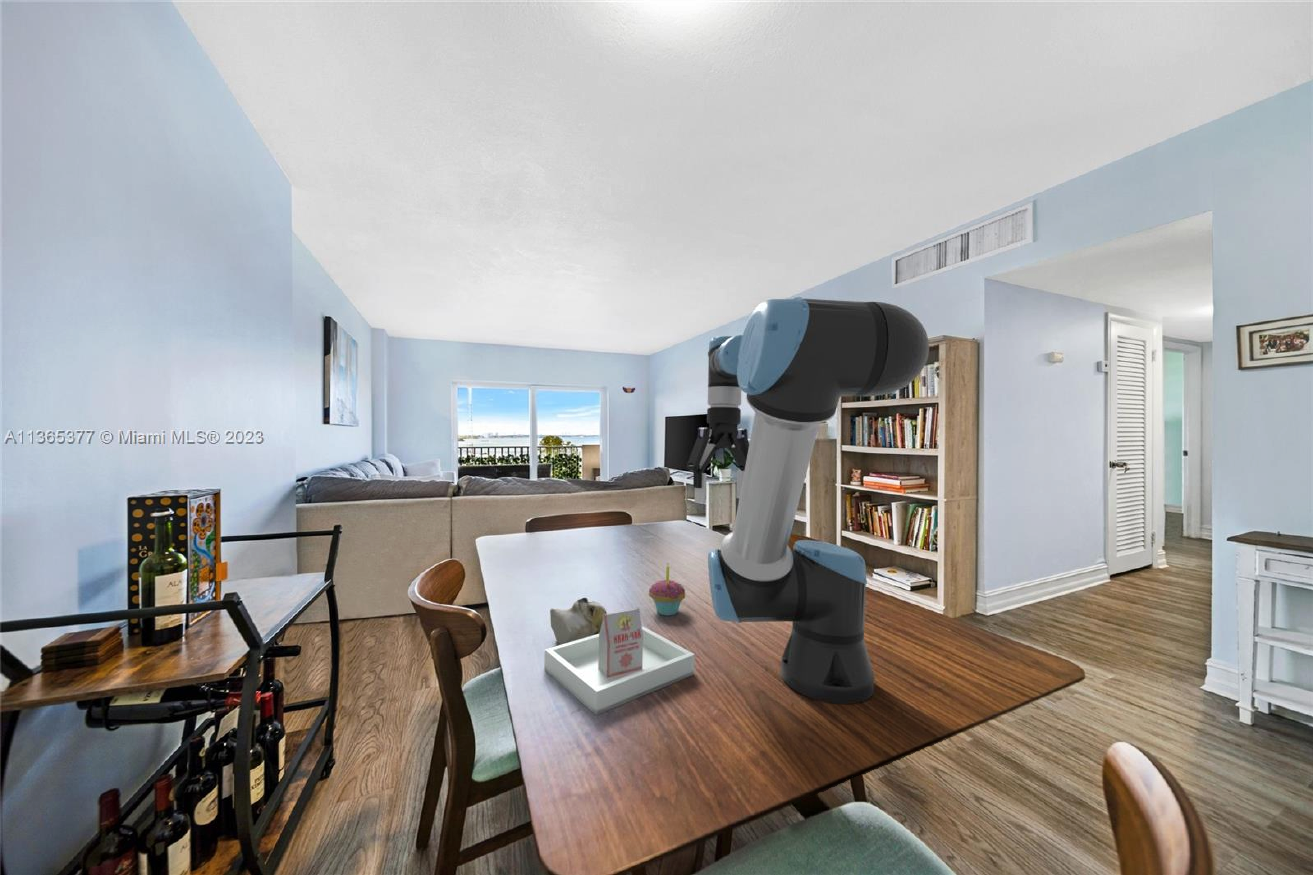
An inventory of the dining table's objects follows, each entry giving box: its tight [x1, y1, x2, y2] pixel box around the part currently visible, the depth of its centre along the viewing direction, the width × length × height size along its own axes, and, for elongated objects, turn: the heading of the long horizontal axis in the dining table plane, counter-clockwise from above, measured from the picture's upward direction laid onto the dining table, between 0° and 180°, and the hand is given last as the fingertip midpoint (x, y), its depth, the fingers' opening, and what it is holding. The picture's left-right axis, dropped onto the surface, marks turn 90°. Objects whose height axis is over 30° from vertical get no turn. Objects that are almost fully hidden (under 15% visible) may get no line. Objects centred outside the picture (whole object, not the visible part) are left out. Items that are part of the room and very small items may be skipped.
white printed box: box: [598, 607, 643, 677], centre depth 84 cm, size 4×7×10 cm, turn 120°
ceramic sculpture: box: [549, 597, 608, 645], centre depth 97 cm, size 11×9×15 cm
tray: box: [543, 625, 696, 716], centre depth 84 cm, size 17×20×4 cm
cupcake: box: [648, 562, 686, 616], centre depth 113 cm, size 9×8×12 cm
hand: (721, 500), depth 109 cm, fingers open, 13 cm apart
